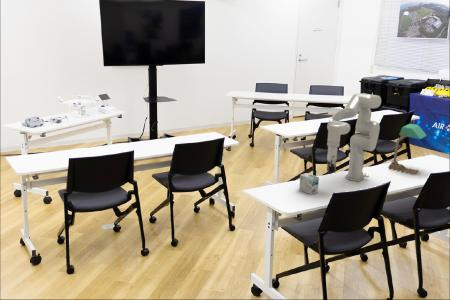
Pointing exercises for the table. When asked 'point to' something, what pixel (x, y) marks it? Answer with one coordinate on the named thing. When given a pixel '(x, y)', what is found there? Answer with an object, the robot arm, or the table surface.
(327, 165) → the walnut block
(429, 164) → the table surface
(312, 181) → the light bulb box
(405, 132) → the banker's lamp
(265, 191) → the table surface
